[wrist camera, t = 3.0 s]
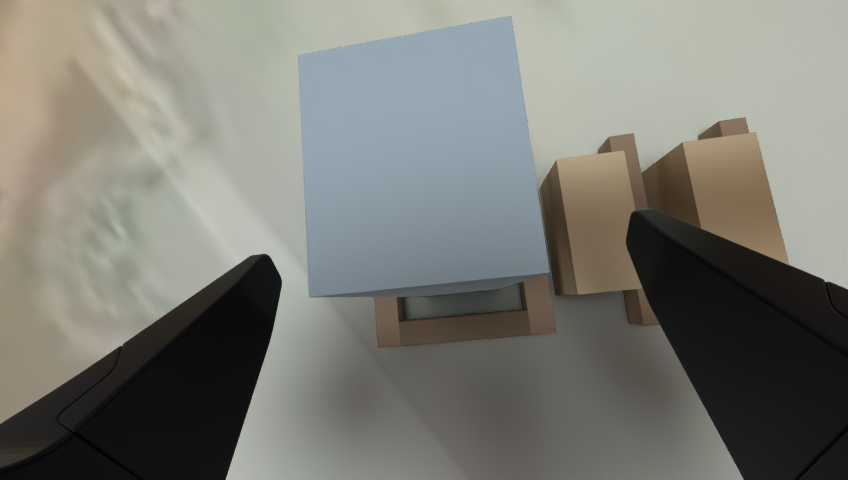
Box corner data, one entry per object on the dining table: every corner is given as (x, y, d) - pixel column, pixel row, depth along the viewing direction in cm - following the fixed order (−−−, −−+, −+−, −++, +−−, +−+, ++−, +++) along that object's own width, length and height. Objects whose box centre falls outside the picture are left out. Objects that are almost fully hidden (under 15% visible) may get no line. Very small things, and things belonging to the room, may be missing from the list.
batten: (498, 289, 17) (549, 272, 5) (424, 296, 18) (308, 296, 6) (487, 205, 18) (510, 15, 6) (416, 214, 18) (297, 55, 6)
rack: (764, 311, 16) (794, 313, 14) (386, 343, 18) (377, 347, 16) (722, 132, 17) (745, 117, 16) (373, 181, 19) (365, 171, 18)
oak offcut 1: (610, 289, 17) (650, 287, 13) (555, 294, 17) (577, 294, 13) (591, 182, 18) (623, 150, 14) (539, 189, 18) (556, 159, 14)
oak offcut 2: (716, 279, 16) (791, 274, 12) (657, 285, 17) (713, 281, 13) (692, 169, 17) (755, 132, 13) (636, 177, 17) (682, 142, 14)
